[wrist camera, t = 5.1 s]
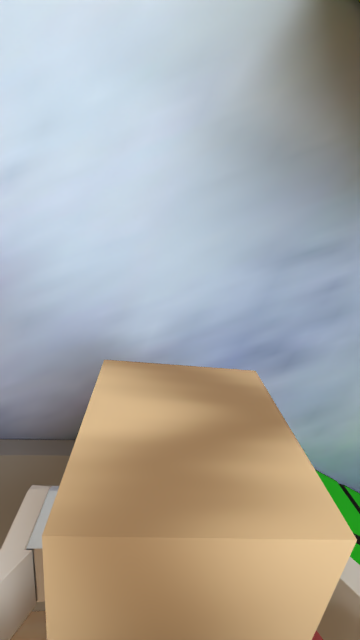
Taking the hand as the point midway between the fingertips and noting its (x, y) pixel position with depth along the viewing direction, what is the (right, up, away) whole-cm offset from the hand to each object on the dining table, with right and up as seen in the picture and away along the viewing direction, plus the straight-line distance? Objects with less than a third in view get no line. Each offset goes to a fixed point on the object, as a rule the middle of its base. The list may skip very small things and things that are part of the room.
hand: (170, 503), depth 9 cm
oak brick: (0, +1, +2) cm, 2 cm away
